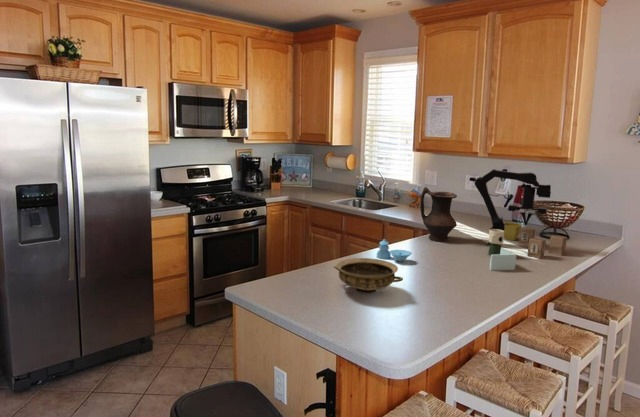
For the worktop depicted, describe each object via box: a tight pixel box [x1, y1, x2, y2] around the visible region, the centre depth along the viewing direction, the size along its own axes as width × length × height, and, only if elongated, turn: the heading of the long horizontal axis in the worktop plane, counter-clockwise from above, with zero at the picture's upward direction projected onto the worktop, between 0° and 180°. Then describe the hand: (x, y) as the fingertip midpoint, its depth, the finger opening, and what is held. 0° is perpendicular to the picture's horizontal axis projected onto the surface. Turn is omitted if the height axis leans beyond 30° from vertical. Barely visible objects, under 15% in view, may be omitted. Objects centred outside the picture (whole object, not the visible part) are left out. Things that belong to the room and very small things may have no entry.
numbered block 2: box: [527, 237, 547, 260], centre depth 247 cm, size 6×6×9 cm
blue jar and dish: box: [376, 238, 412, 263], centre depth 234 cm, size 18×10×9 cm, turn 49°
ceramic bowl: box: [333, 257, 404, 295], centre depth 190 cm, size 30×24×10 cm
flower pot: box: [503, 221, 522, 241], centre depth 284 cm, size 9×9×9 cm
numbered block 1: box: [518, 226, 536, 247], centre depth 273 cm, size 6×6×9 cm
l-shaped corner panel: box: [488, 247, 517, 271], centre depth 228 cm, size 12×12×8 cm
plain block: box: [548, 234, 568, 257], centre depth 255 cm, size 6×6×9 cm
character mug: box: [487, 228, 505, 256], centre depth 247 cm, size 11×7×13 cm, turn 140°
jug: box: [419, 186, 458, 243], centre depth 277 cm, size 21×18×30 cm
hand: (525, 225), depth 261 cm, fingers closed
